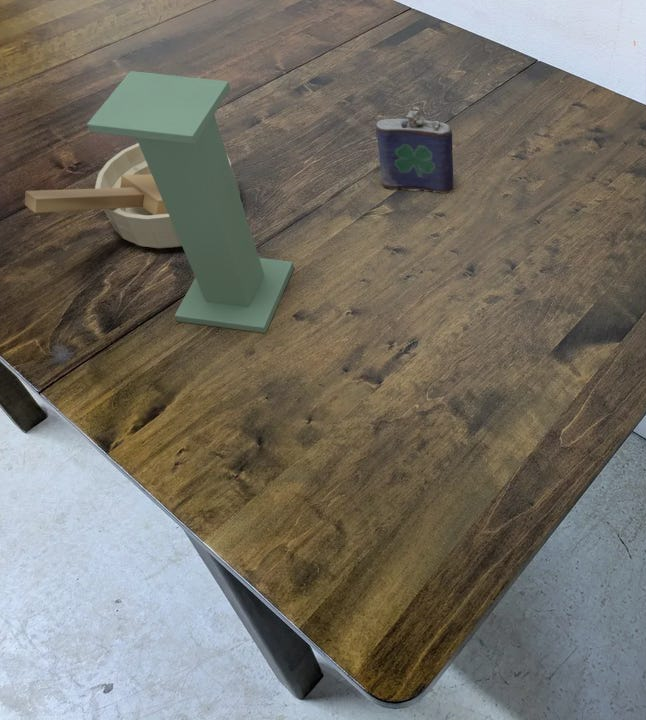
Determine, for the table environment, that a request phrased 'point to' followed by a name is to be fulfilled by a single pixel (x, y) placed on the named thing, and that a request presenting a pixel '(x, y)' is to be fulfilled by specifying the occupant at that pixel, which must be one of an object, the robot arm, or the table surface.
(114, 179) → the bowl
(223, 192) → the pedestal stand
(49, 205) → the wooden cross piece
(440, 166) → the flask
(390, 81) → the table surface
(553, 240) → the table surface
